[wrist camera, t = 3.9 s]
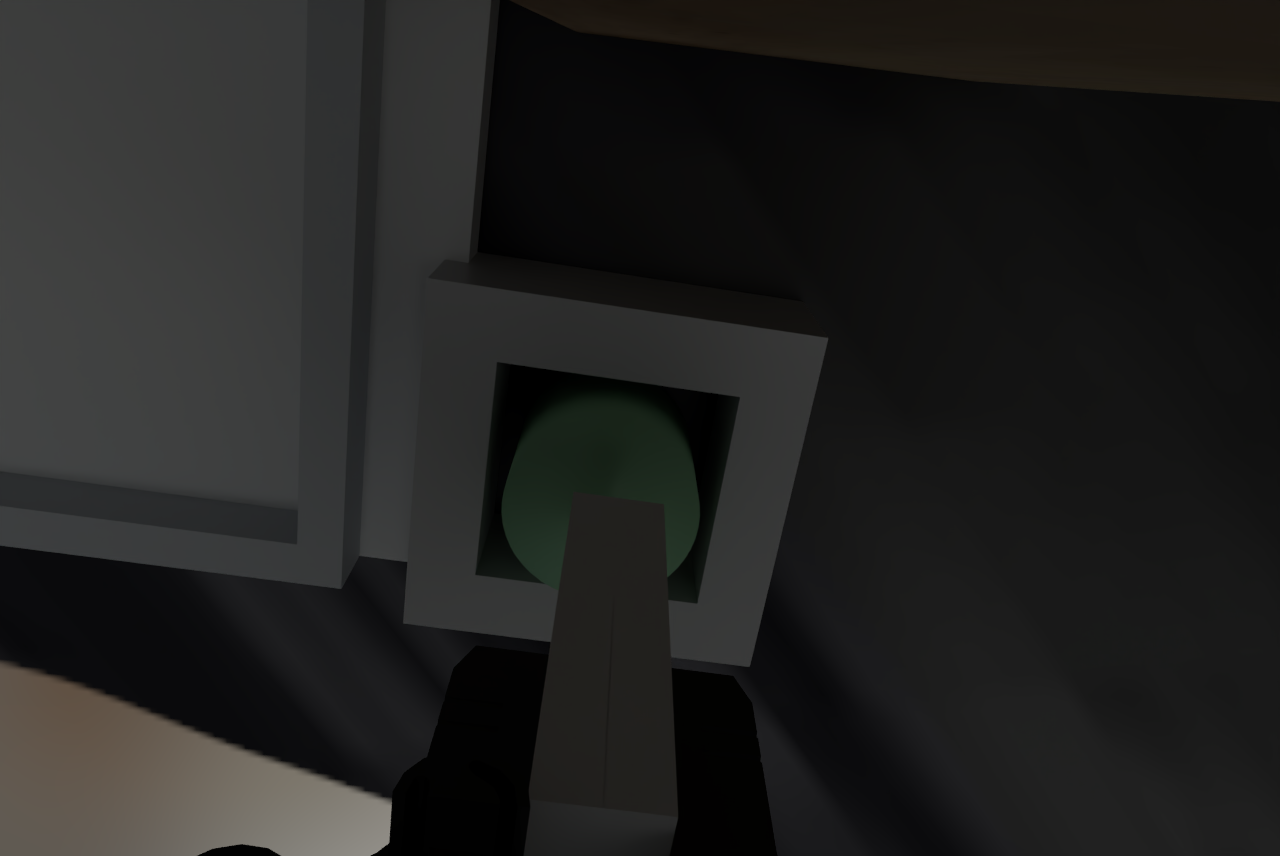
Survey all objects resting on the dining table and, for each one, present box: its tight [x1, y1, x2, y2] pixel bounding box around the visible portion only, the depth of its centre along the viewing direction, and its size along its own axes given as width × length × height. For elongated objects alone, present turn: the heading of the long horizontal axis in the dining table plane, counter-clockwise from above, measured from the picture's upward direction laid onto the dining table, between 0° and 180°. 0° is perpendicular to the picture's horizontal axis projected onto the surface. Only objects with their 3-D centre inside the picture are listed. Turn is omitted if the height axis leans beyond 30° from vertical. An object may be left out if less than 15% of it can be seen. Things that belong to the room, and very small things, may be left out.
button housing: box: [403, 252, 828, 667], centre depth 21 cm, size 8×8×3 cm
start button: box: [501, 373, 700, 591], centre depth 20 cm, size 4×4×3 cm
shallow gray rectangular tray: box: [0, 0, 500, 589], centre depth 19 cm, size 15×17×3 cm
